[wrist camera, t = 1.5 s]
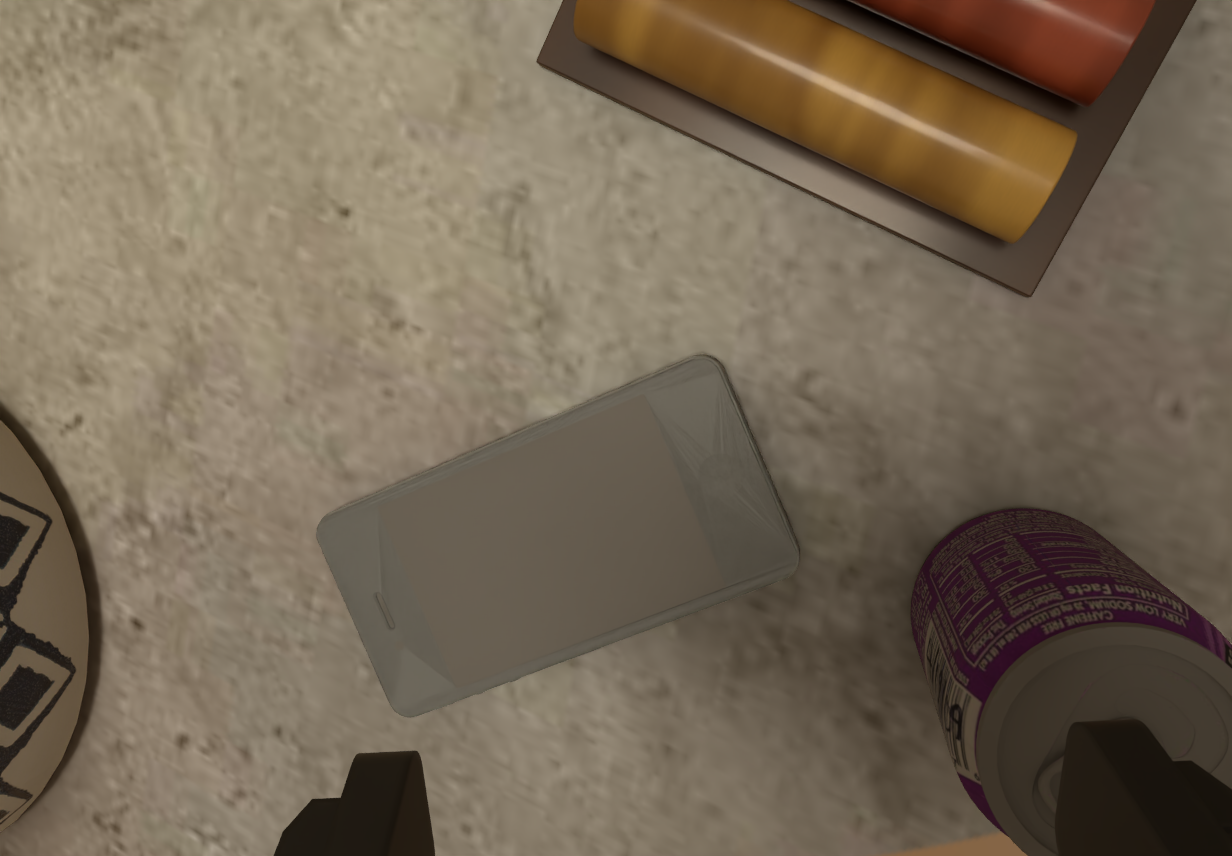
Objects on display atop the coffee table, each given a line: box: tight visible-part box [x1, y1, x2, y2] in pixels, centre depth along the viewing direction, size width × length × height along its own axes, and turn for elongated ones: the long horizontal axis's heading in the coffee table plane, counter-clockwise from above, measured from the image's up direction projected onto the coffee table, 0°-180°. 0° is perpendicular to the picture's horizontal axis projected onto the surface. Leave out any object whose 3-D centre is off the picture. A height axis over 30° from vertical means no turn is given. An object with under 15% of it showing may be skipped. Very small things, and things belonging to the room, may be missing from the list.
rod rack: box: [537, 0, 1197, 297], centre depth 32 cm, size 18×10×4 cm, turn 64°
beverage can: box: [911, 508, 1232, 856], centre depth 29 cm, size 7×7×12 cm
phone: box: [316, 355, 800, 717], centre depth 37 cm, size 8×16×1 cm, turn 114°
